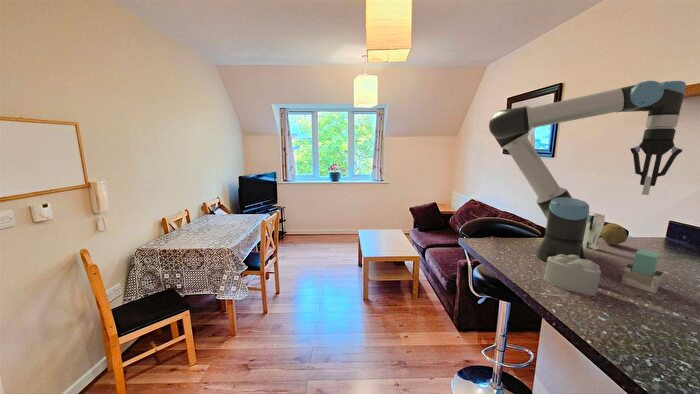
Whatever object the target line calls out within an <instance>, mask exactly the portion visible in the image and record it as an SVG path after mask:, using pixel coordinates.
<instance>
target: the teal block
mask: <svg viewBox="0 0 700 394" xmlns="http://www.w3.org/2000/svg"><path fill="white" fill-rule="evenodd" d="M659 256H660V253H658V252H653V251H649V250H645V249H637V251H636V252H635V255H634V258H633V263H632V265H633V267H632V272H636V273H640V274H644V275H647V276H651V277H654V275H655V272H656V268H657V265H658V262H659V261H658V260H659Z"/></svg>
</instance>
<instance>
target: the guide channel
mask: <svg viewBox="0 0 700 394" xmlns="http://www.w3.org/2000/svg"><path fill="white" fill-rule="evenodd" d="M632 267H633V263H628V264H627V265H626V267H625V269H623V273H622V277H621V283H620V284H623V285H627V286H630V287H633V288H636V289H640V290H643V291H647V292H650V293H653V294H657V291H658V289H659V287H660V283H661V279H662V276H663V271H661V270H655V273H654V277H651V276H647V275H644V274H640V273H636V272H632Z"/></svg>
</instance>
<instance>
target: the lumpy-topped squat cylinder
mask: <svg viewBox="0 0 700 394" xmlns="http://www.w3.org/2000/svg"><path fill="white" fill-rule="evenodd" d="M601 275H602V271H601V269H600V265H599V264H597V263H595V262H594V261H593V260H589V259H581V258H580V257H579V256H577V255H568V256H566V255H563V254H560V255H557V256H550V257H548V260H547V262H546V266H545V273H544V277H543V278H544V280H545V281H547V282H548V283H549V284H551V285H553V286H556V287H558V288H560V289H563V290H566V291H570V292H573V293H576V294H577V293H579V294H582V295H587V296H588V295H589V296H596V295H598V294H597V293H598V289H599V286H600V285H599V284H600V279H601Z"/></svg>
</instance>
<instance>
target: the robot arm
mask: <svg viewBox="0 0 700 394" xmlns="http://www.w3.org/2000/svg"><path fill="white" fill-rule="evenodd" d="M686 85H687V83H686V82H685V81H682V80H670V81H669V80H668V81H660V82H659V81H655V80H645V81H641V82H638V83H636V84H634V85H628V86H623V87H620V88H616V89H610V90H606V91H601V92H598V93H591V94H587V95H583V96H577V97H575V98H570V99H565V100H560V101H555V102H551V103H547V104H543V105H542V104H541V105H537V106H534V107H530V106H528V105H525V106H520V107H515V108H506V109H502V110H499V111H497V112H496V113H494V115H492V117H491V118H490V120H489V123H488V129H489V132H490V134H491V135H492V136H493V138H495V140H496V142H497V143H498V145H499V146H500V148H501V149H503V150H507V152H508V153H509V155H510V156H511V157H512V159H513V161H514V162H515V163H516V165H517V167H518V169H519V171H520V172H521V173H522V175H523V176H524V178H525V180H526V181H527V183H529V185H530V187H531V188H532V190H533V192H534V193H535V195H536V196H537V199H536V204H537V206H538V207H539V208H540V210H541V212H542V213H543V215H544V217H545V218H546V221H547V222H546V226H545V234H544V237H543V239H542V241H541V242H540V244H539V246H538V247H537V250H536V257H537V258H538V259H540V260H542V261H544V262H546V263H547V260H548V257H550V256H557V255H560V254H563V255H566V256H568V255H577V256H579V257H580V258H581V259H586V255H585V254H586V253H585V250H584V249H585V248H583V239H584V234H585V229H586V224H587V219H588V215H589V213H590V205H589V204H588V202H586V201H585V200H582V199H579V198H574V197H572V196H571V194H570V192H569V191H568V189H567V188H564V187H561V186H560V184H558V182H557V180H556V179H555V177H554V176H553V175H552V173H551V171H550V170H549V167H547V165H546V164H545V162H544V161H543V160H542V157H541V156H540V155H539V154H538V152H537V150H536V149H535V147H534V146H533V144H532V143H531V141H530V139H529V134H530V132H531V131H532V129H534V128H538V127H539V128H540V127H545V126H550V125H556V124H561V123H566V122H570V121H571V122H572V121H576V120H577V121H578V120H581V119H582V120H583V119H586V118H592V117H596V116H602V115H607V114H612V113H616V114H617V113H624V112H625V113H626V112H627V113H628V112H634V113H635V112H648V113H647V116H646V117H647V118H646V122H645V127H644V128H646V129H645V130H643V131H644V132H643V137H642V141H641V142H640V143H639V145H637V146H636V147H631V148H630V152H631V154H632V157H633V164H634V172H635V173H634V174H636V175H639V176H641V178H640V182H639V185H640V186H643V188H642V192H641V195H644V196H648V195H649V194H650V190H651V187H655V185H657V184H656V183H657V180H658V177H664V176H665V175H667V173H668V171H669V169H670V167H672V164H673V162H674V161H675V160H676V158H677V156H678V155H680V154H682V152H683V149H682V148H678V147H677V146H675V142H674V140H675V134H676V132H677V131H676V128H677V127H678V122H679V118H680V112H681V109H682V106H683V101H684V97H685V95H686V87H687V86H686ZM640 151H642V152H643V153H644V154H645V159H644V164H643V168H642V170H641V161H640ZM669 151H670V153H671V154H670V156H669V157H668V159H667V161H666V162H665V164H664V166H663V168H662V169H661V171H659V170H660V167H661V163H662V158H663V155H665V154H666V153H668V152H669ZM653 156H655V159H654V165H653V169H652V174H651V176H648V174H649V170H650V166H651V165H650V164H651V161H652V158H653ZM586 260H587V259H586Z"/></svg>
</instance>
